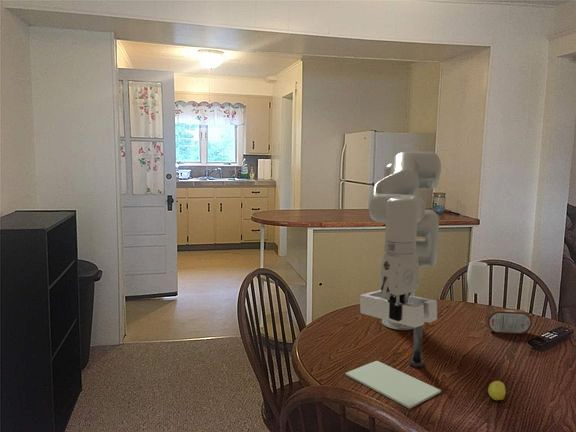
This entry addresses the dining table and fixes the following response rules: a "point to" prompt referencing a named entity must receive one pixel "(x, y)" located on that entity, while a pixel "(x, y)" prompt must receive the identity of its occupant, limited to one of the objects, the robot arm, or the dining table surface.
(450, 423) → the dining table surface
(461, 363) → the dining table surface
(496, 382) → the lemon
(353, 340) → the dining table surface
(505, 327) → the tin
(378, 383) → the mat
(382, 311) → the c link
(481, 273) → the cup
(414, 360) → the stand
